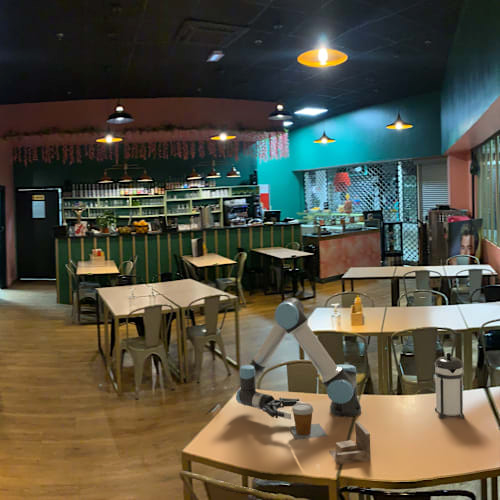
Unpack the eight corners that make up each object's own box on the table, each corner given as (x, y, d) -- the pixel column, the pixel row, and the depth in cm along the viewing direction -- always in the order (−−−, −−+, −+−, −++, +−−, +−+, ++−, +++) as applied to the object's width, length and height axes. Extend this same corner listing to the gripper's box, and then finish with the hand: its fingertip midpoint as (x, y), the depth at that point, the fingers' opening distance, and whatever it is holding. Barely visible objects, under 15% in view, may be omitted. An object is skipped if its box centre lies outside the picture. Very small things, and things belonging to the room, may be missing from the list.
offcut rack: (359, 449, 230) (359, 421, 229) (370, 463, 217) (370, 434, 216) (328, 452, 228) (327, 424, 227) (337, 467, 216) (336, 437, 214)
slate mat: (319, 425, 257) (319, 423, 257) (327, 437, 243) (327, 435, 243) (289, 428, 255) (289, 426, 255) (296, 440, 241) (296, 439, 241)
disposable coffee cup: (317, 430, 249) (316, 404, 248) (309, 438, 241) (308, 411, 240) (297, 426, 254) (296, 401, 253) (289, 435, 245) (288, 408, 244)
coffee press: (474, 414, 261) (473, 352, 258) (453, 423, 252) (452, 359, 249) (443, 404, 275) (442, 345, 273) (422, 412, 266) (421, 351, 264)
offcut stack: (354, 451, 226) (354, 439, 225) (359, 458, 220) (359, 445, 219) (335, 453, 225) (334, 441, 224) (339, 460, 219) (339, 448, 218)
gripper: (280, 401, 274) (315, 411, 260) (246, 417, 256) (282, 428, 242) (279, 387, 274) (314, 395, 260) (246, 402, 255) (282, 412, 241)
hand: (299, 411), depth 250 cm, fingers open, 13 cm apart
